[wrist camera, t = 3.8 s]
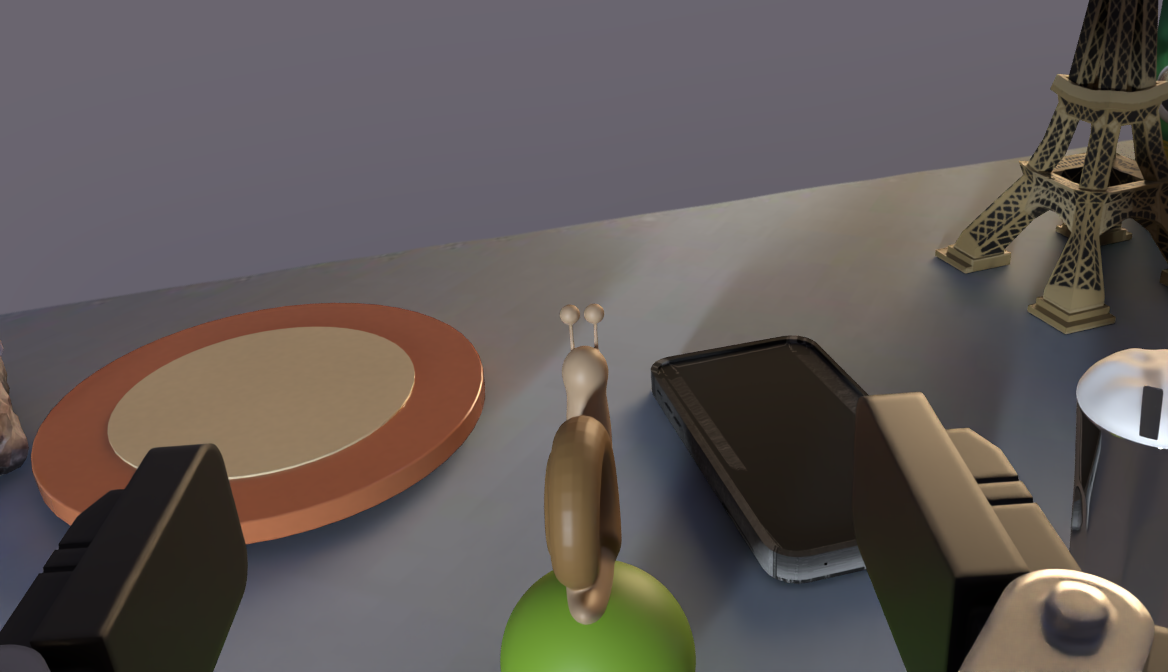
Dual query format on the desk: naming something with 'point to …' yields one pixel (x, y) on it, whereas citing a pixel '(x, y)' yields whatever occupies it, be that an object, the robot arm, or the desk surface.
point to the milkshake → (1124, 476)
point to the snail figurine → (591, 553)
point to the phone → (772, 447)
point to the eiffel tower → (1087, 168)
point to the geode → (9, 429)
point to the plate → (274, 412)
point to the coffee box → (1163, 69)
